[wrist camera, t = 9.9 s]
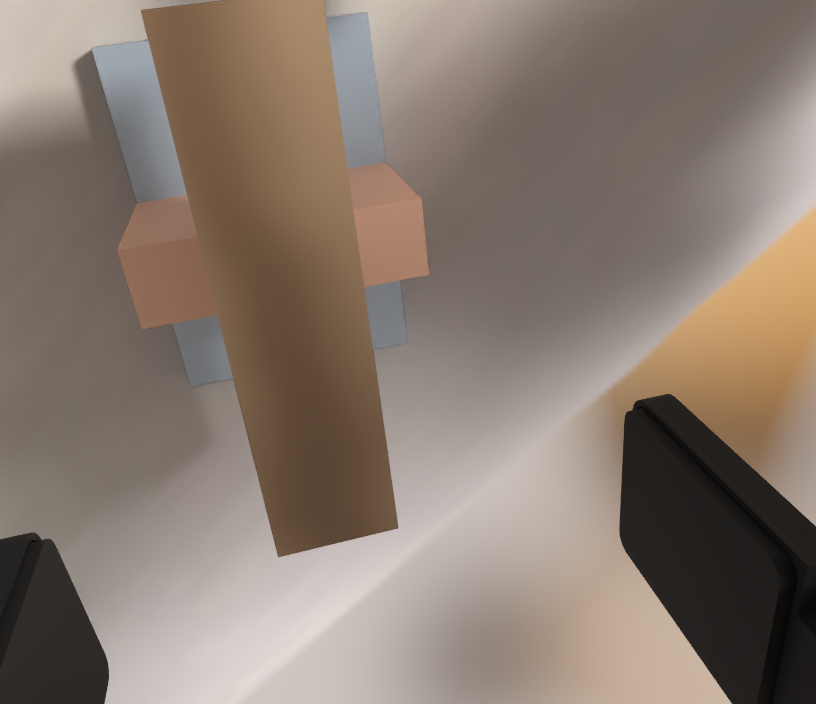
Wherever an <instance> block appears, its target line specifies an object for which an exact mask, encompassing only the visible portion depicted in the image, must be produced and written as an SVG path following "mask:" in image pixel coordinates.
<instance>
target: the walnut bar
mask: <svg viewBox="0 0 816 704" xmlns="http://www.w3.org/2000/svg"><path fill="white" fill-rule="evenodd" d="M141 13H142V17H143V21H144V25H145V29H146V33H147V37H148V41H149V45H150V49H151V53H152V57H153V61H154V65H155V69H156V73H157V77H158V81H159V85H160V89H161V93H162V97H163V101H164V105H165V109H166V113H167V117H168V121H169V125H170V129H171V133H172V137H173V141H174V145H175V149H176V153H177V157H178V160H179V164H180V168H181V172H182V176H183V180H184V184H185V188H186V192H187V196H188V200H189V204H190V208H191V212H192V216H193V220H194V224H195V228H196V232H197V236H198V240H199V244H200V248H201V252H202V256H203V260H204V264H205V268H206V272H207V276H208V280H209V284H210V288H211V292H212V296H213V300H214V304H215V308H216V312H217V316H218V320H219V324H220V328H221V331H222V335H223V339H224V343H225V347H226V351H227V355H228V359H229V363H230V367H231V371H232V375H233V379H234V383H235V387H236V391H237V395H238V399H239V403H240V407H241V411H242V415H243V419H244V423H245V427H246V431H247V435H248V439H249V443H250V447H251V451H252V455H253V459H254V463H255V467H256V471H257V475H258V479H259V483H260V487H261V491H262V495H263V499H264V503H265V506H266V510H267V514H268V518H269V522H270V526H271V530H272V534H273V538H274V542H275V546H276V550H277V554H278V557H281V556H285V555H289V554H294V553H298V552H302V551H306V550H310V549H314V548H318V547H323V546H327V545H331V544H335V543H339V542H343V541H347V540H352V539H356V538H360V537H364V536H368V535H372V534H376V533H381V532H385V531H389V530H393V529H397V528H398V522H397V515H396V508H395V501H394V494H393V487H392V480H391V473H390V465H389V458H388V451H387V444H386V437H385V430H384V423H383V416H382V409H381V402H380V395H379V388H378V381H377V374H376V366H375V359H374V352H373V345H372V338H371V331H370V324H369V317H368V310H367V303H366V296H365V289H364V282H363V275H362V268H361V260H360V253H359V246H358V239H357V232H356V225H355V218H354V211H353V204H352V197H351V190H350V183H349V176H348V169H347V161H346V154H345V147H344V140H343V133H342V126H341V119H340V112H339V105H338V98H337V91H336V84H335V77H334V70H333V62H332V55H331V48H330V41H329V34H328V27H327V20H326V13H325V6H324V0H223V1H215V2H206V3H197V4H189V5H180V6H171V7H163V8H154V9H145V10H141Z"/></svg>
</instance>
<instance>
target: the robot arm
mask: <svg viewBox="0 0 816 704" xmlns="http://www.w3.org/2000/svg"><path fill="white" fill-rule="evenodd" d="M619 530H620V538H621V541H622V545H623V547H624V549H625V551H626V553H627V554H628V555H629V557H630V558H631V560H632V561H633V563H634V564H635V566H636V567H637V568H638V570H639V571H640V573H641V574H642V575H643V577H644V578H645V580H646V581H647V583H648V584H649V585H650V587H651V588H652V590H653V591H654V593H655V594H656V596H657V597H658V598H659V600H660V601H661V603H662V604H663V606H664V607H665V608H666V610H667V611H668V613H669V614H670V615H671V617H672V618H673V620H674V621H675V623H676V624H677V626H678V627H679V628H680V630H681V631H682V633H683V634H684V636H685V637H686V638H687V640H688V641H689V643H690V644H691V646H692V647H693V648H694V650H695V651H696V653H697V654H698V656H699V657H700V658H701V660H702V661H703V663H704V664H705V666H706V667H707V669H708V670H709V671H710V673H711V674H712V676H713V677H714V678H715V680H716V681H717V683H718V684H719V686H720V687H721V689H722V690H723V691H724V693H725V694H726V695H727V697H728V699H729V700H730V701H731V703H732V704H816V526H815V525H814V524H812V523H811V522H810V521H809V520H808V519H807V518H806V517H805V516H804V515H803V514H802V513H800V512H799V511H798V510H797V509H796V508H795V507H794V506H793V505H792V504H791V503H790V502H789V501H788V500H786V499H785V498H784V497H783V496H782V495H781V494H780V493H779V492H778V491H777V490H776V489H774V488H773V487H772V486H771V485H770V484H769V483H768V482H767V481H766V480H765V479H764V478H762V477H761V476H760V475H759V474H758V473H757V472H756V471H755V470H754V469H753V468H752V467H750V466H749V465H748V464H747V463H746V462H745V461H744V460H743V459H742V458H741V457H739V456H738V455H737V454H736V453H735V452H734V451H733V450H732V449H731V448H730V447H729V446H728V445H726V444H725V443H724V442H723V441H722V440H721V439H720V438H719V437H718V436H717V435H715V434H714V433H713V432H712V431H711V430H710V429H709V428H708V427H707V426H705V424H704V423H703V422H701V421H700V420H699V419H698V418H697V417H696V416H695V415H694V414H693V413H692V412H691V411H689V410H688V409H687V408H686V407H685V406H684V405H683V404H682V403H681V402H680V401H679V400H677V399H676V398H675V397H674V396H672V395H670V394H665V395H661V396H656V397H652V398H647V399H642V400H638V401H636V402H635V404H634V406H633V410H632V411H628V412H627V413H626V415H625V422H624V444H623V465H622V485H621V508H620V529H619ZM108 680H109V668H108V662H107V658H106V655H105V653H104V651H103V649H102V646H101V644H100V642H99V640H98V638H97V635H96V633H95V631H94V629H93V627H92V624H91V622H90V620H89V618H88V616H87V613H86V611H85V609H84V607H83V605H82V603H81V600H80V598H79V596H78V594H77V592H76V589H75V587H74V585H73V583H72V581H71V578H70V576H69V574H68V572H67V570H66V568H65V565H64V563H63V561H62V559H61V557H60V554H59V552H58V550H57V548H56V546H55V544H54V542H53V541H52V540H51V539H45V540H41V538H40V537H39V536H38V535H37V534H36V533H28V534H23V535H18V536H14V537H9V538H5V539H0V704H104V703H105V697H106V692H107V687H108Z"/></svg>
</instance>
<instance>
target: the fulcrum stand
mask: <svg viewBox="0 0 816 704" xmlns="http://www.w3.org/2000/svg"><path fill="white" fill-rule="evenodd" d="M326 20H327V27H328V34H329V41H330V48H331V55H332V62H333V70H334V77H335V84H336V91H337V98H338V105H339V112H340V119H341V126H342V133H343V140H344V147H345V154H346V161H347V169H348V176H349V183H350V190H351V197H352V204H353V211H354V218H355V225H356V232H357V239H358V246H359V253H360V260H361V268H362V275H363V282H364V289H365V296H366V303H367V310H368V317H369V324H370V331H371V338H372V345H373V350H375V349H380V348H384V347H389V346H394V345H399V344H404V343H408V342H407V333H406V325H405V317H404V309H403V300H402V292H401V284H400V280H405V279H411V278H416V277H421V276H427V275H429V267H428V257H427V247H426V237H425V227H424V217H423V207H422V198H421V197H420V196H419V195H418V194H417V193H416V192H415V191H414V190H413V189H412V188H411V187H410V186H409V185H408V184H407V183H406V182H405V181H404V180H403V179H402V178H401V177H400V176H399V175H398V174H397V173H396V172H395V171H394V170H393V169H392V168H391V167H390V166H389V165H388V164H387V163H386V160H385V152H384V143H383V135H382V127H381V119H380V110H379V102H378V94H377V86H376V77H375V69H374V61H373V52H372V44H371V36H370V28H369V19H368V13H364V12H362V13H354V14H347V15H339V16H331V17H326ZM91 49H92V52H93V56H94V59H95V62H96V66H97V69H98V73H99V76H100V79H101V83H102V86H103V90H104V93H105V97H106V100H107V103H108V107H109V110H110V114H111V117H112V120H113V124H114V127H115V131H116V134H117V137H118V141H119V144H120V148H121V151H122V155H123V158H124V161H125V165H126V168H127V172H128V175H129V178H130V182H131V185H132V189H133V192H134V196H135V199H136V202H137V204H136V206H135V208H134V211H133V213H132V215H131V218H130V220H129V222H128V225H127V227H126V229H125V232H124V234H123V237H122V239H121V241H120V244H119V246H118V248H117V253H118V257H119V260H120V263H121V266H122V269H123V272H124V276H125V279H126V282H127V285H128V288H129V291H130V294H131V298H132V301H133V304H134V307H135V310H136V313H137V317H138V320H139V323H140V326H141V329H147V328H153V327H158V326H163V325H169V324H172V325H173V329H174V332H175V336H176V339H177V342H178V346H179V349H180V353H181V356H182V360H183V363H184V366H185V370H186V373H187V377H188V380H189V383H190V387H194V386H199V385H203V384H208V383H213V382H218V381H223V380H228V379H233V375H232V371H231V367H230V363H229V359H228V355H227V351H226V347H225V343H224V339H223V335H222V331H221V328H220V324H219V320H218V316H217V312H216V308H215V304H214V300H213V296H212V292H211V288H210V284H209V280H208V276H207V272H206V268H205V264H204V260H203V256H202V252H201V248H200V244H199V240H198V236H197V232H196V228H195V224H194V220H193V216H192V212H191V208H190V204H189V200H188V196H187V192H186V188H185V184H184V180H183V176H182V172H181V168H180V164H179V160H178V157H177V153H176V149H175V145H174V141H173V137H172V133H171V129H170V125H169V121H168V117H167V113H166V109H165V105H164V101H163V97H162V93H161V89H160V85H159V81H158V77H157V73H156V69H155V65H154V61H153V57H152V53H151V49H150V45H149V41H148V40H144V41H136V42H128V43H120V44H113V45H105V46H97V47H93V48H91Z"/></svg>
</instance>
